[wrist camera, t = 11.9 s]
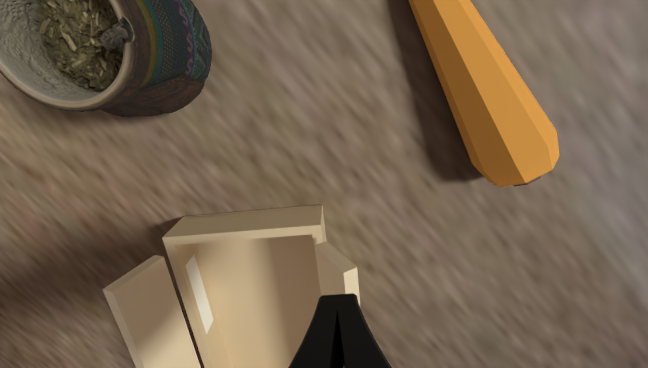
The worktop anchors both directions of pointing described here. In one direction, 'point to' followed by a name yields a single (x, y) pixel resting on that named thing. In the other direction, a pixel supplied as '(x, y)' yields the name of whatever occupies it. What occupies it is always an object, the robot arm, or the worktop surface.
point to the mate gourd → (105, 53)
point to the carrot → (486, 95)
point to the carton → (248, 282)
